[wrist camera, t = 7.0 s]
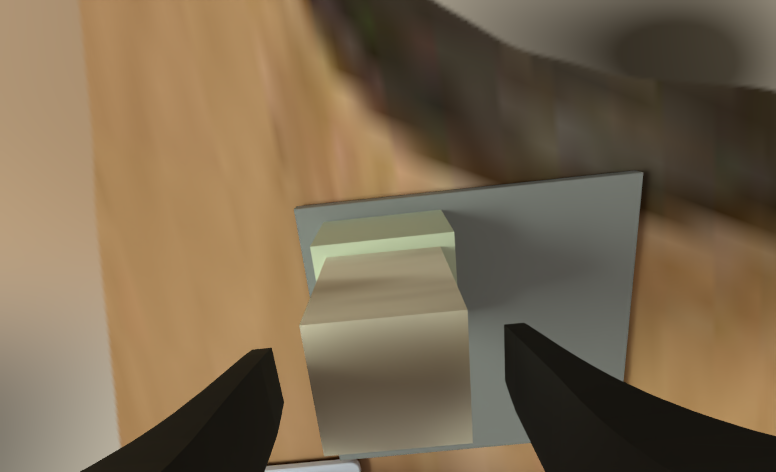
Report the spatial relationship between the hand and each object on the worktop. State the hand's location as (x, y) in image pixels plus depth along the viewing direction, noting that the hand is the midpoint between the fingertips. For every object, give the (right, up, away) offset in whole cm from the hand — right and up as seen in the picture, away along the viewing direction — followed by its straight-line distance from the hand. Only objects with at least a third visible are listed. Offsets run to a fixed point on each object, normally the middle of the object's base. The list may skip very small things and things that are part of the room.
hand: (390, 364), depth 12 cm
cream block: (0, +1, +4) cm, 4 cm away
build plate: (+4, -1, +9) cm, 10 cm away
